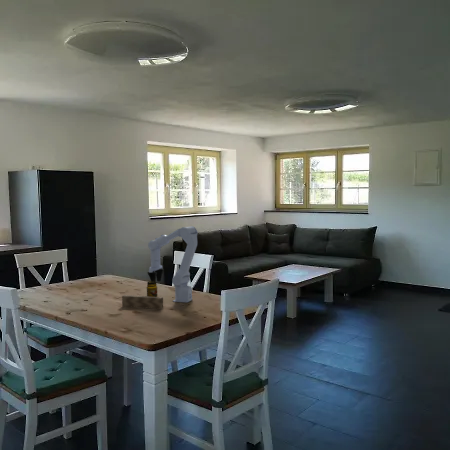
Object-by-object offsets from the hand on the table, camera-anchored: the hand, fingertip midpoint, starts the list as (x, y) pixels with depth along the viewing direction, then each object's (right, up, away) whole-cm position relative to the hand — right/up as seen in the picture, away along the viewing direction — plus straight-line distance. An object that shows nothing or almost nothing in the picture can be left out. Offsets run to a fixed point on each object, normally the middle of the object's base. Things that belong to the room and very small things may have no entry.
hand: (156, 282), depth 267 cm
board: (-4, -11, -22) cm, 25 cm away
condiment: (-1, -10, -10) cm, 15 cm away
